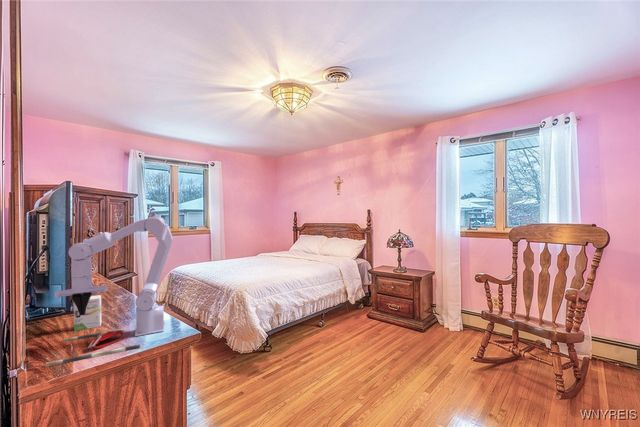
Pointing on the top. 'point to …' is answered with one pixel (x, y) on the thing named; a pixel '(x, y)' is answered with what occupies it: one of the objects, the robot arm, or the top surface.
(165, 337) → the top surface
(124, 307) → the top surface
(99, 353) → the track
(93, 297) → the ink box
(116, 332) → the tracker holder
